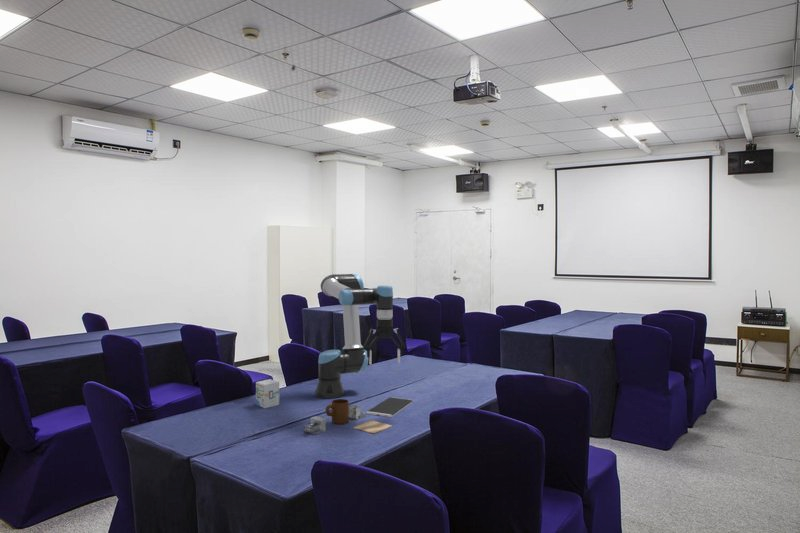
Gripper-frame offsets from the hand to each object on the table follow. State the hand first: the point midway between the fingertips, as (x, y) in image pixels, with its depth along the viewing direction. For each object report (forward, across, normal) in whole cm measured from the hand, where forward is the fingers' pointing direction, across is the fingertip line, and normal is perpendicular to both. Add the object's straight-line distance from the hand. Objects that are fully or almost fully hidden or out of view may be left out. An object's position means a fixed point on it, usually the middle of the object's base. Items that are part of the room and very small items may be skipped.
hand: (384, 363), depth 237 cm
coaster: (+23, -8, -19) cm, 31 cm away
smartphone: (+24, +4, +8) cm, 26 cm away
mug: (+24, -23, -11) cm, 35 cm away
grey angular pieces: (+24, -23, -11) cm, 35 cm away
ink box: (+24, -55, +24) cm, 65 cm away
